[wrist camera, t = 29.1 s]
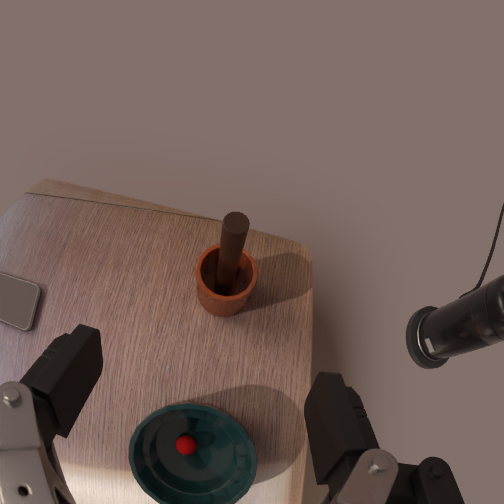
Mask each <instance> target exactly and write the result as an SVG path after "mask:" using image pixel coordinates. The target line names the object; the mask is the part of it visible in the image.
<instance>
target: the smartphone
mask: <svg viewBox="0 0 504 504" xmlns="http://www.w3.org/2000/svg"><path fill="white" fill-rule="evenodd" d="M40 292H41V291H40V288H39V286H37V285H36V284H34V283H30V282H27V281H24V280H21V279H17V278H14V277H11V276H8V275H5V274H2V273H0V320H1V321H3V322H6V323H8V324H10V325H13V326H15V327H17V328H20V329H22V330H25V331H28V330H30V329H31V327H32V323H33V319H34V315H35V311H36V307H37V304H38V300H39V297H40Z"/></svg>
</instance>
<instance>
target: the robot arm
mask: <svg viewBox="0 0 504 504" xmlns="http://www.w3.org/2000/svg"><path fill="white" fill-rule="evenodd" d="M503 212H504V204H503V207H502V210H501V214H500V218H499V221H498V225H497V230H496V233H495V237H494V240H493V244H492V247H491V250H490V254H489V256H488V259H487V262H486V265H485V267H484V270H483V272H482V275H481V277H480V280H479V282H478V284H477V285H476V287H475V288H474V289H473V290H471V291H469V292H467V293H465V294H463V295H461V296H460V297H459V299H457V300H455V301H453V302H451V303H449V304H447V305H445V306H443V307H441V308H439V309H437V310H434V311H432V312H429V313H427V314H425V315H423V316H422V317H421V319H420V320H419V322H418V325H417V328H416V342H417V345H418V348H419V350H420V352H421V354H422V355H423V356H424V357H425V358H426V359H428V360H430V361H439V360H441V359H444V358H448V357H452V356H456V355H460V354H463V353H467V352H470V351H473V350H477V349H480V348H483V347H486V346H490V345H493V344H495V343H498V342H501V341H504V275H502V276H500V277H498V278H496V279H494V280H493V281H491V282H489V283H487V284H485V285H484V286H482V287H480V286H481V283H482V281H483V279H484V276H485V273H486V271H487V268H488V266H489V263H490V260H491V257H492V254H493V251H494V247H495V244H496V240H497V236H498V232H499V228H500V224H501V220H502V216H503ZM479 287H480V288H479ZM102 368H103V356H102V347H101V336H100V331H99V330H98V329H95V328H92V327H89V326H85V325H82V324H79V325H78V326H77V327H76V328H75V329H74V331H73V332H72V333H71V334H67V333H65V334H63V335H61V336H59V337H57V338H56V339H54V340H53V342H52V343H51V344H50V345H49V346H48V347H47V349H46V350H45V351H44V352H43V353H42V356H40V357H39V358H38V359H37V360H36V362H35V363H34V364H33V365H32V367H31V368H30V369H29V370H28V371H27V373H26V374H25V375H24V376H23V378H22V379H21V380H20V381H19V382H15V381H11V382H6V383H4V384H2V385H1V386H0V502H1V504H76V502H75V500H74V498H73V496H72V494H71V493H70V491H69V489H68V486H67V484H66V481H65V478H64V475H63V472H62V469H61V466H60V463H59V460H58V457H57V453H56V450H55V446H54V443H53V439H54V437H55V436H56V434H57V435H60V436H62V437H64V438H66V439H67V437H68V435H69V433H70V431H71V429H72V427H73V425H74V423H75V421H76V419H77V417H78V415H79V413H80V412H81V410H82V408H83V406H84V404H85V402H86V400H87V399H88V397H89V395H90V393H91V391H92V390H93V388H94V386H95V384H96V382H97V381H98V379H99V377H100V375H101V372H102ZM304 417H305V422H306V427H307V433H308V438H309V443H310V449H311V454H312V460H313V466H314V471H315V476H316V482H317V485H324V484H328V487H329V491H328V492H327V493H326V495H325V496H324V498H323V499H322V501H321V502H320V503H319V504H465V503H464V501H463V498H462V496H461V493H460V491H459V488H458V486H457V483H456V481H455V478H454V476H453V473H452V471H451V469H450V467H449V465H448V464H447V463H446V462H445V461H444V460H442V459H440V458H437V457H428V458H426V459H424V460H423V461H422V462H421V463H420V464H419V465H410V464H402V463H397V461H396V459H395V458H394V457H393V455H392V454H390V453H389V452H387V451H385V450H382V449H380V448H379V445H378V442H377V440H376V437H375V434H374V432H373V429H372V427H371V424H370V421H369V419H368V418H367V414H366V411H365V409H364V406H363V404H362V401H361V399H360V396H359V395H358V394H357V393H356V392H355V391H354V390H353V389H352V387H346V386H345V383H344V380H343V378H342V375H341V374H340V373H332V372H319V373H318V375H317V377H316V379H315V381H314V383H313V385H312V388H311V390H310V392H309V394H308V396H307V398H306V401H305V405H304Z"/></svg>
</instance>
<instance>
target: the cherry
mask: <svg viewBox="0 0 504 504" xmlns="http://www.w3.org/2000/svg"><path fill="white" fill-rule="evenodd" d="M175 446H176V449H177V450H178V452H180V453H181V454H184V455H190V454H192V453H194V452H195V450H196V447H197V445H196V442H195V440H194V439H193V438H192V437H190V436H181V437H179V438H178V439H177V440H176V443H175Z"/></svg>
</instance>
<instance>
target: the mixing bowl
mask: <svg viewBox="0 0 504 504" xmlns="http://www.w3.org/2000/svg"><path fill="white" fill-rule="evenodd" d="M181 436H190V437H192V438H193V439H194V440H195V442H196V445H197V447H196V450H195V452H194V453H192V454H190V455H184V454H181V453H180V452H178V450H177V449H176V446H175V443H176V440H177V439H178V438H179V437H181ZM128 458H129V462H130V466H131V470H132V473H133V475H134V478H135V479H136V481H137V482H138V484H139V485H140V486H141V488H142V489H143V491H144V492H145V493H147V494H148V495H149V496H150V497H152V498H153V499H154V500H155V501H157V502H158V503H159V504H235V503H236V502H237V501H238V500H239V499H241V498H242V497H243V496H244V495H245V494H246V493H247V492H248V490H249V488H250V487H251V485H252V483H253V481H254V479H255V477H256V469H257V456H256V452H255V448H254V444H253V442H252V440H251V439H250V437H249V436H248V434H247V433H246V431H245V430H244V428H243V427H242V426H241V425H240V424H239V422H238V421H236V420H235V419H234V418H233V417H232V416H230V415H229V414H228V413H227V412H226V411H224V410H222V409H220V408H218V407H215V406H213V405H211V404H209V403H203V402H196V401H184V402H176V403H172V404H169V405H167V406H165V407H163V408H161V409H158V410H156V411H154V412H152V413H151V414H149V415H148V416H147V417H146V418H145V419H144V420H143V421H142V422H141V423H140V424H139V425H138V426H137V427H136V429H135V432H134V434H133V436H132V438H131V440H130V445H129V457H128Z"/></svg>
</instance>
